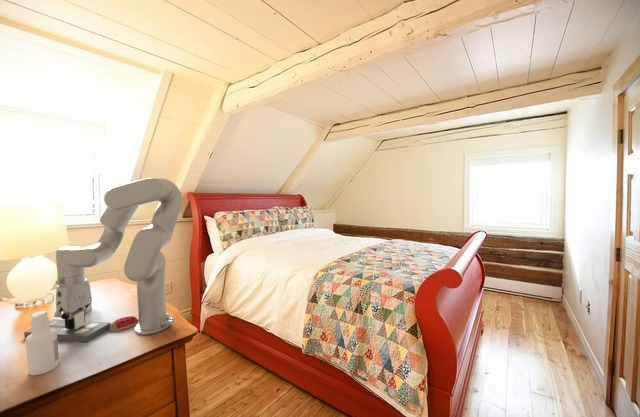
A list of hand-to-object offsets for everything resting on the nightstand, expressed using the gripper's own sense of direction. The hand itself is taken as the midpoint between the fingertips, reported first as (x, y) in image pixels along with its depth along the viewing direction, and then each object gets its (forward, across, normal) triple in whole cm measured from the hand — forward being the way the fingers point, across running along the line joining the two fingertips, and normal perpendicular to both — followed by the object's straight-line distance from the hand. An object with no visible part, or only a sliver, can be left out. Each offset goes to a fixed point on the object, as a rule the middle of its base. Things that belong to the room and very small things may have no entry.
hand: (75, 325), depth 105 cm
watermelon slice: (+4, +7, -14) cm, 16 cm away
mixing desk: (+3, 0, +3) cm, 5 cm away
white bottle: (+4, -19, -10) cm, 22 cm away
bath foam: (+4, +17, +16) cm, 24 cm away
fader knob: (+1, 0, 0) cm, 1 cm away
